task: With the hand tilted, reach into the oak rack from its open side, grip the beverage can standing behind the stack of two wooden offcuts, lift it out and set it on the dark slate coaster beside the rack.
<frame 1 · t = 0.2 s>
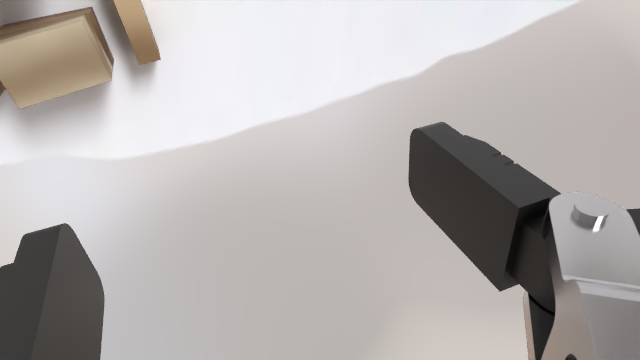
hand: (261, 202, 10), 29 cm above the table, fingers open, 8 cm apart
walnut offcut: (62, 42, 32), on the table, touching birch offcut
birch offcut: (56, 54, 30), point 3 cm above the table, touching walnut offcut
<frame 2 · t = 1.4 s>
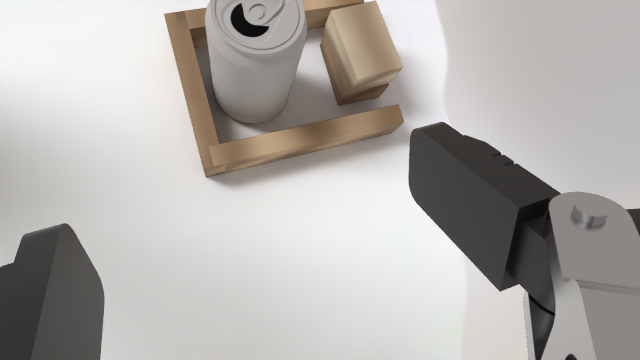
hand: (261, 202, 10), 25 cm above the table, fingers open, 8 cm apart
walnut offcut: (348, 72, 39), on the table, touching birch offcut
birch offcut: (356, 57, 36), point 3 cm above the table, touching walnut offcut
rack: (284, 84, 38), on the table
beverage can: (251, 92, 37), resting in rack
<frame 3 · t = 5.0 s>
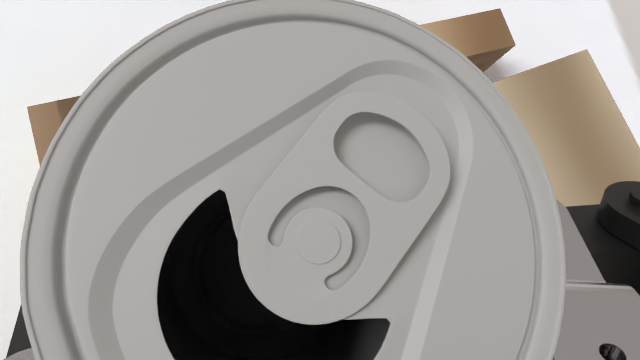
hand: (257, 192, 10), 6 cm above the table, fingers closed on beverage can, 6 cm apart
birch offcut: (518, 179, 15), point 3 cm above the table, touching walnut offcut
rack: (338, 239, 16), on the table
beverage can: (263, 263, 16), resting in rack, touching gripper
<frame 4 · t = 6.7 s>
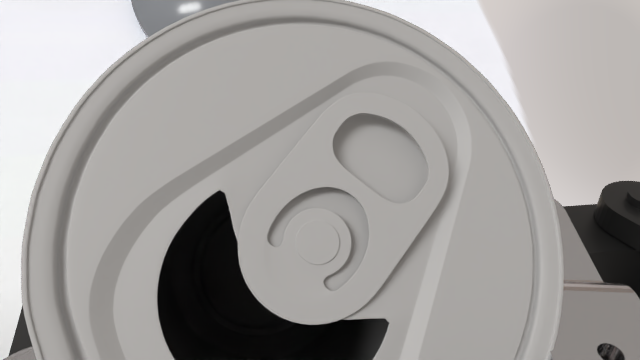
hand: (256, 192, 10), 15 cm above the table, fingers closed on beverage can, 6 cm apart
beverage can: (263, 263, 16), point 9 cm above the table, touching gripper
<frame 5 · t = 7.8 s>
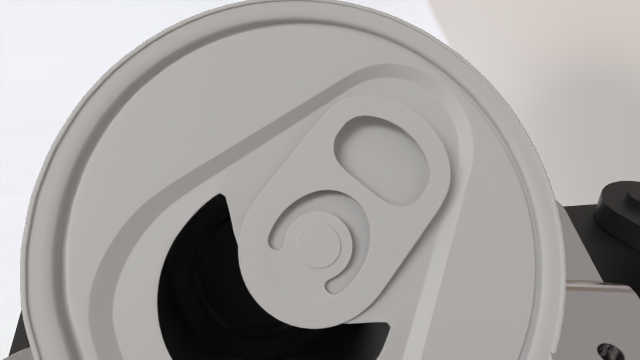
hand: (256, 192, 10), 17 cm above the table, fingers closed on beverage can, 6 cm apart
beverage can: (263, 264, 16), point 11 cm above the table, touching gripper
when the fingers open (7 cm above the table, at t = 10.6 s): beverage can stays where it is, resting on slate coaster.
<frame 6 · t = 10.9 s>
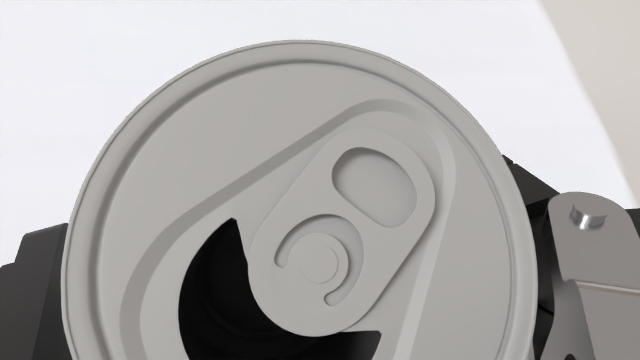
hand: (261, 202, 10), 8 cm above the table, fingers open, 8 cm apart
beverage can: (265, 268, 17), point 1 cm above the table, touching slate coaster
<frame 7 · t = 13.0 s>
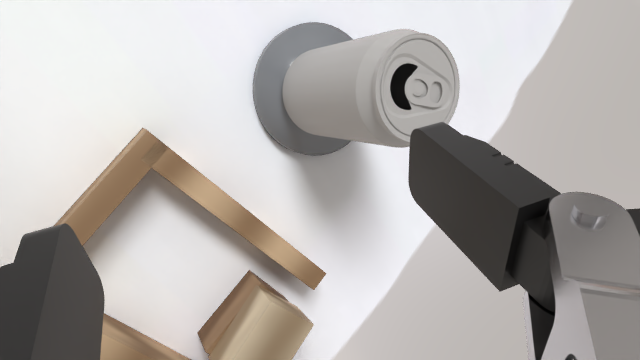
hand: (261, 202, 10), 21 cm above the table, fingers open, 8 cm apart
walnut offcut: (241, 312, 34), on the table, touching birch offcut
birch offcut: (254, 330, 31), point 3 cm above the table, touching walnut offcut
slate coaster: (313, 91, 33), on the table
rack: (179, 272, 31), on the table
beverage can: (315, 93, 33), point 1 cm above the table, touching slate coaster
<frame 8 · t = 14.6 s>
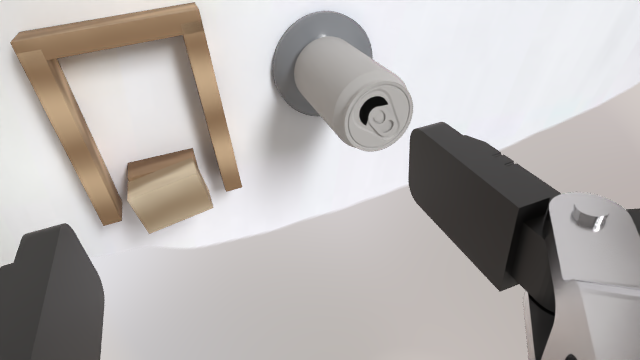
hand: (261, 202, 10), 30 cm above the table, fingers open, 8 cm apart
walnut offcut: (166, 171, 42), on the table, touching birch offcut
birch offcut: (169, 186, 39), point 3 cm above the table, touching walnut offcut
slate coaster: (322, 65, 41), on the table
rack: (146, 114, 38), on the table
beverage can: (322, 67, 41), point 1 cm above the table, touching slate coaster
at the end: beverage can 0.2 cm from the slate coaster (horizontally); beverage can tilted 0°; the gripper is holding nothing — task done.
